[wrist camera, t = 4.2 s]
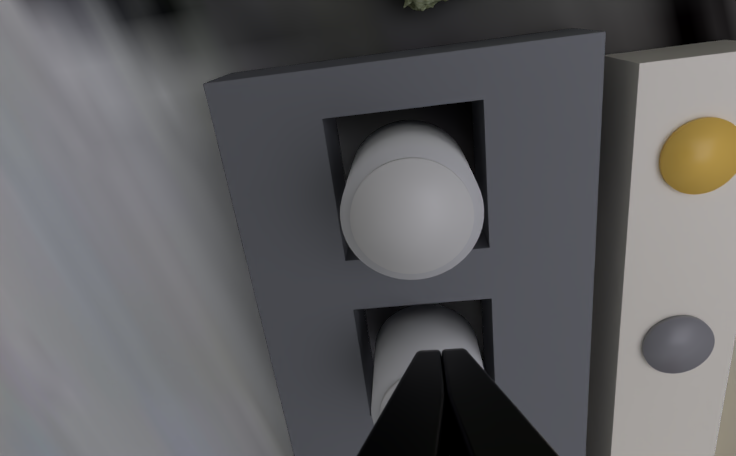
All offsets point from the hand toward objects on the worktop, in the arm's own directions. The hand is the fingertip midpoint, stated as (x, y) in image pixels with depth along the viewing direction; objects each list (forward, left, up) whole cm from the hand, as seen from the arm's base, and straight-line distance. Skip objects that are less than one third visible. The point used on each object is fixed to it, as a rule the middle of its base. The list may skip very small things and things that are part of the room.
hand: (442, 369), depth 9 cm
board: (0, -6, -12) cm, 13 cm away
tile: (+9, -6, -12) cm, 16 cm away
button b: (0, -6, -9) cm, 11 cm away
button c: (0, +1, -9) cm, 9 cm away
